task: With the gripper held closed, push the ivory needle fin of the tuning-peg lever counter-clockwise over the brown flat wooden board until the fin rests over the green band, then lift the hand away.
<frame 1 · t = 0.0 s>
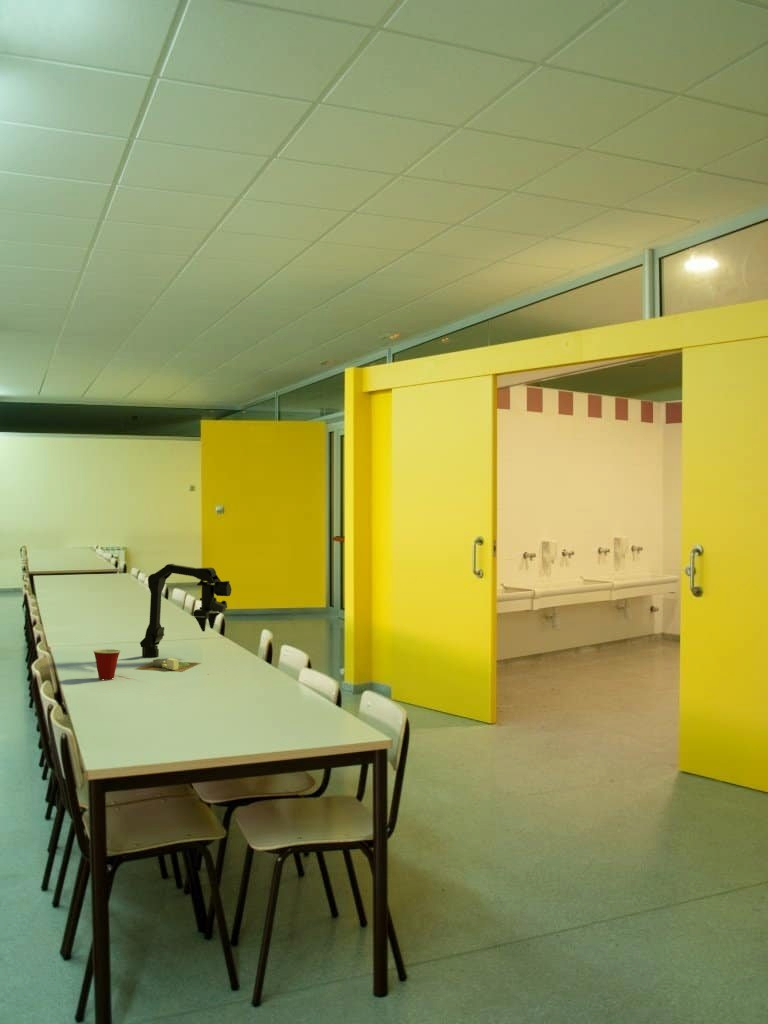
hand: (207, 630, 389), 15 cm above the table, tool pointing down, fingers open, 9 cm apart
plastic cup: (106, 679, 353), on the table
brown flat wooden board: (168, 668, 374), on the table
peg lever: (165, 662, 370), point 4 cm above the table, hinge at 0.0°
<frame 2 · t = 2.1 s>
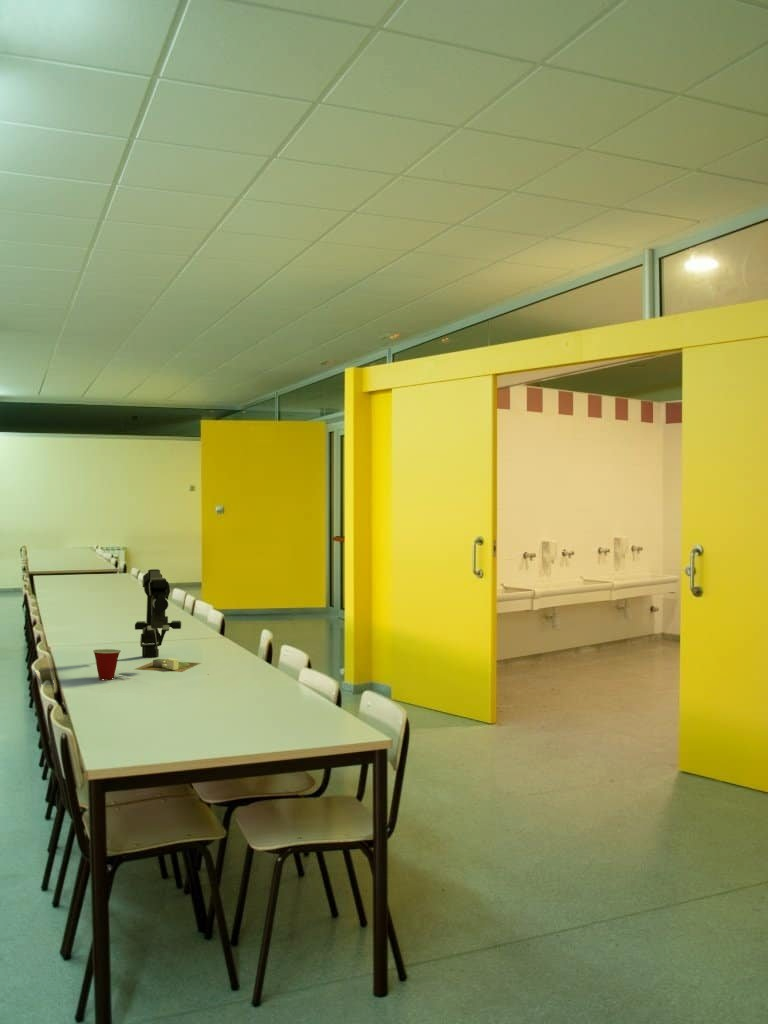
hand: (158, 645, 363), 12 cm above the table, tool pointing down, fingers closed
nothing on the table moved.
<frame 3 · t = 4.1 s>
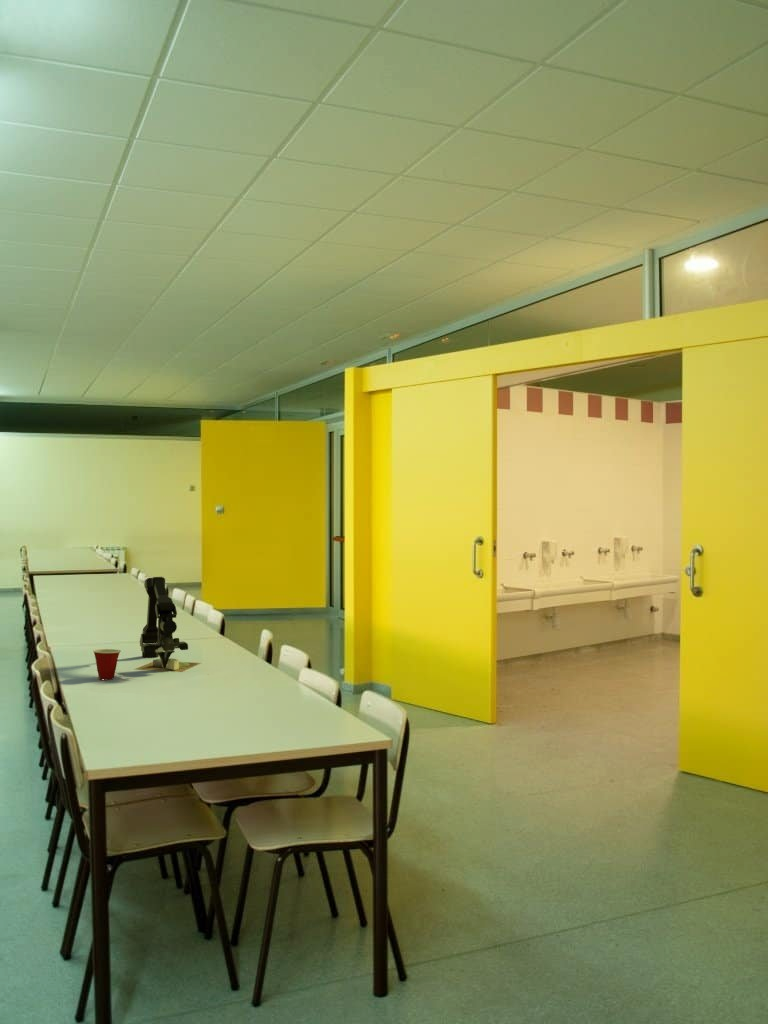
hand: (164, 667, 365), 3 cm above the table, tool pointing down, fingers closed
peg lever: (166, 662, 370), point 4 cm above the table, hinge at 1.3°, touching gripper
everything else where it was.
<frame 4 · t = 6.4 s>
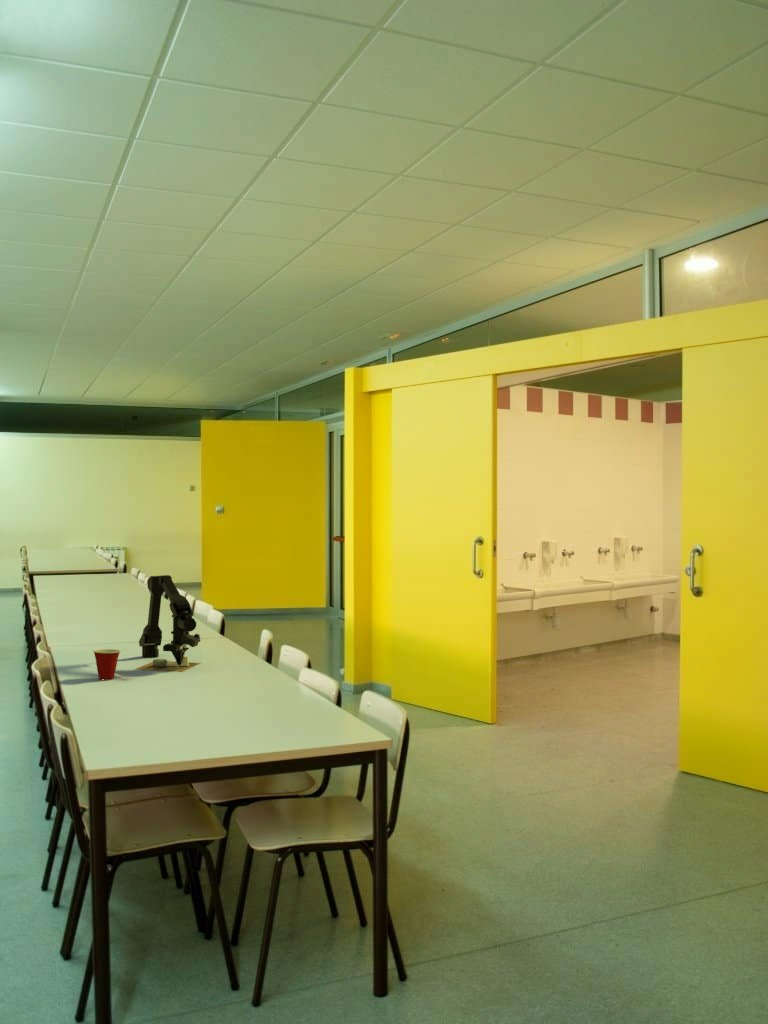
hand: (179, 664, 370), 3 cm above the table, tool pointing down, fingers closed
peg lever: (170, 661, 373), point 4 cm above the table, hinge at 47.5°, touching gripper
everything else where it was.
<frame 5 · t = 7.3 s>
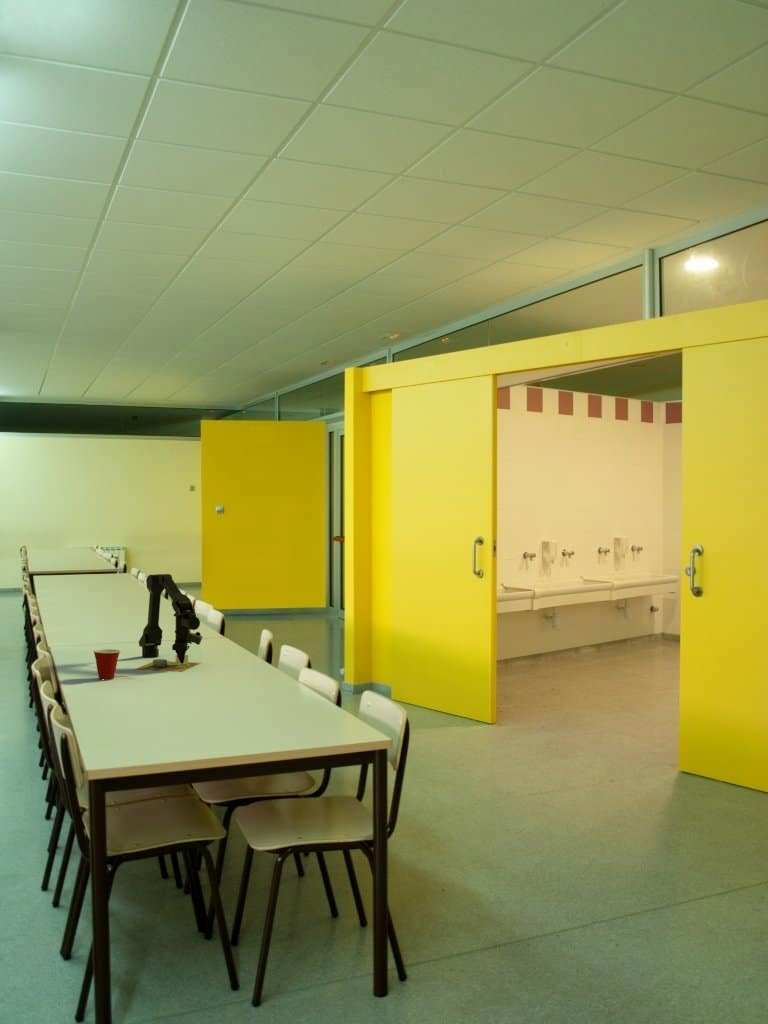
hand: (182, 663, 373), 3 cm above the table, tool pointing down, fingers closed
peg lever: (170, 660, 375), point 4 cm above the table, hinge at 67.8°, touching gripper
everything else where it was.
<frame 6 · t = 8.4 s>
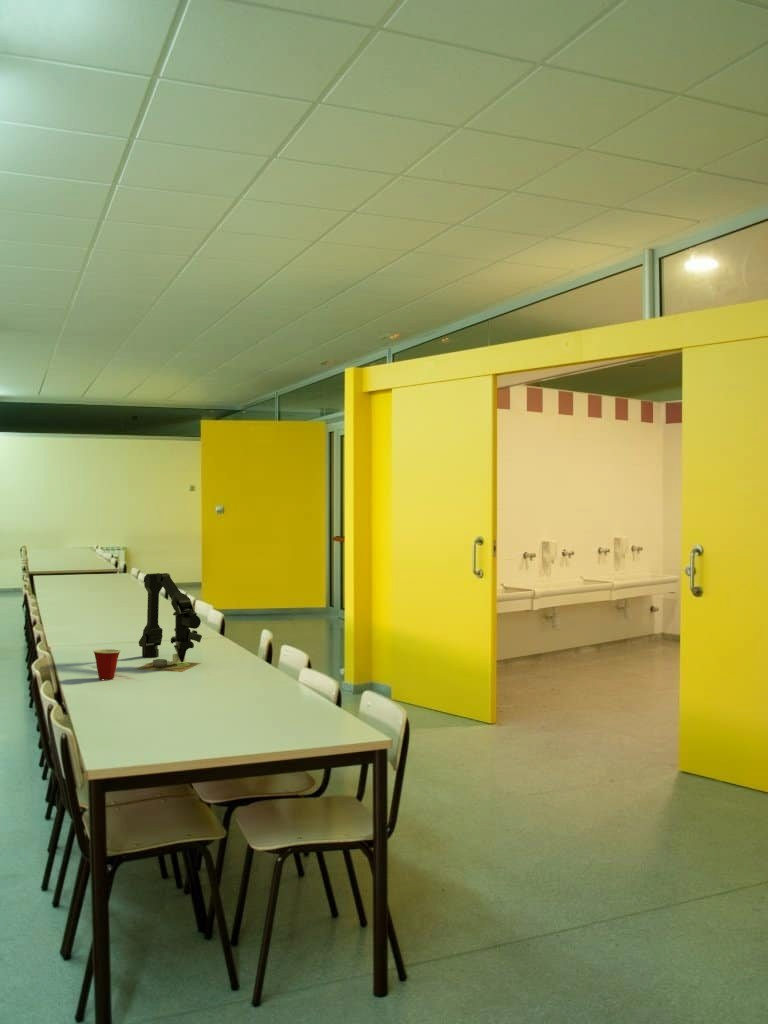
hand: (182, 661, 377), 3 cm above the table, tool pointing down, fingers closed
peg lever: (169, 659, 376), point 4 cm above the table, hinge at 87.5°, touching gripper
everything else where it was.
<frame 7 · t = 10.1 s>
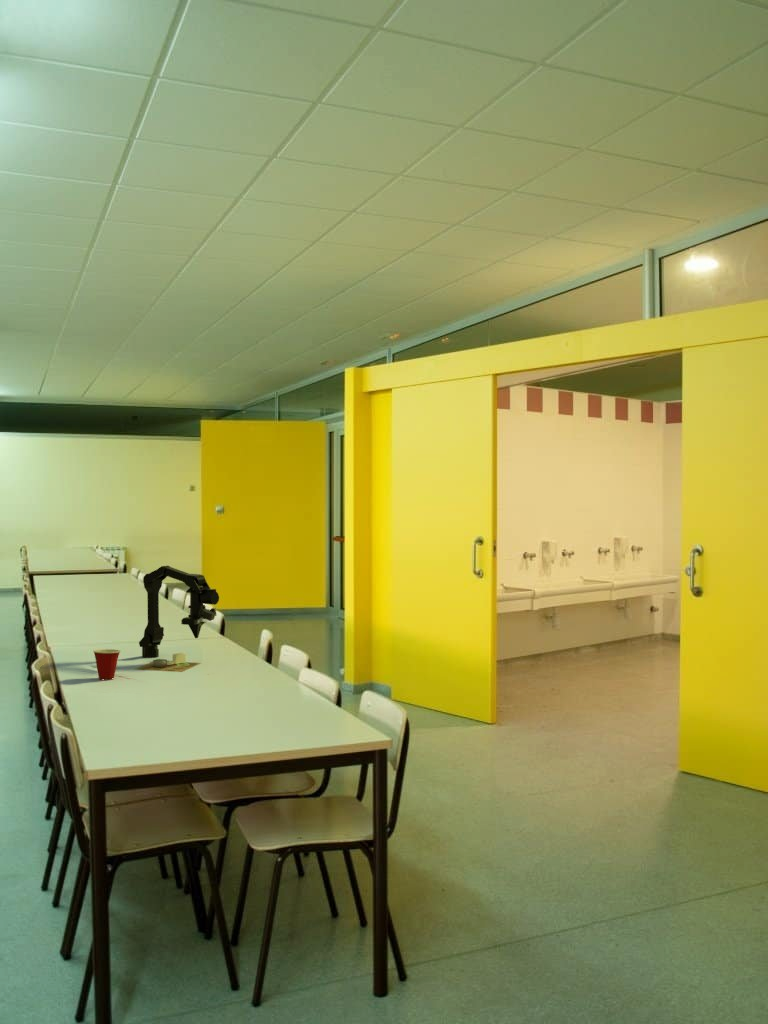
hand: (196, 638, 383), 12 cm above the table, tool pointing down, fingers closed
peg lever: (169, 659, 376), point 4 cm above the table, hinge at 87.6°
everything else where it was.
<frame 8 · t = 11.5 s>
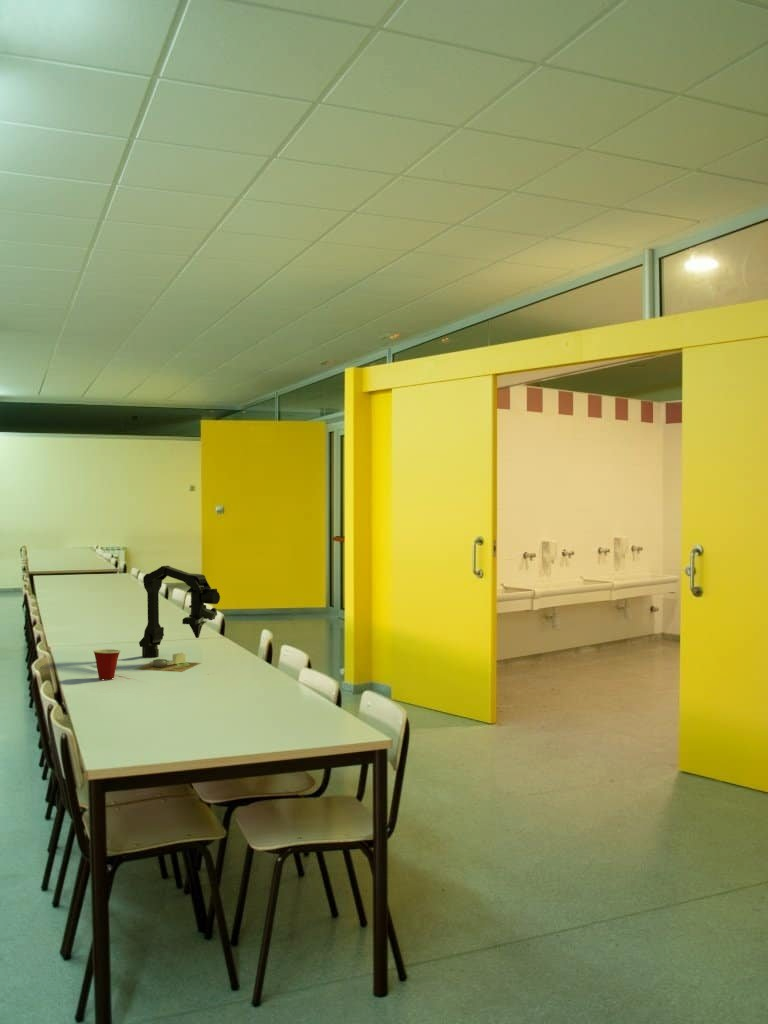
hand: (197, 637, 384), 12 cm above the table, tool pointing down, fingers closed
nothing on the table moved.
at the end: peg lever at +88° (first picture: +0°) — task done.
